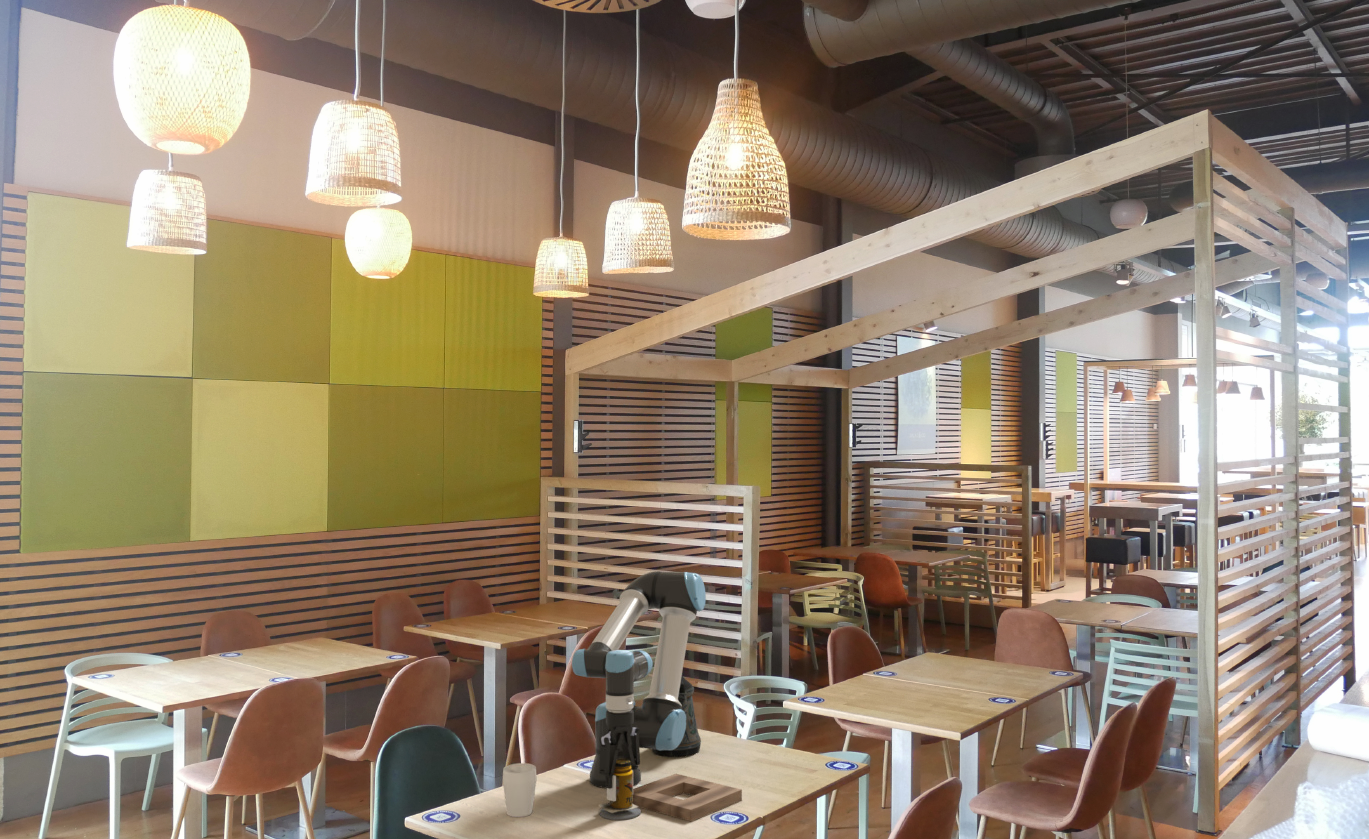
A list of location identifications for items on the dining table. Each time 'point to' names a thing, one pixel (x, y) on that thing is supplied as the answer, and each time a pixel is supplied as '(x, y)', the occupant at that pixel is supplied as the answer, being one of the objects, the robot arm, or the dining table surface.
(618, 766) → the condiment
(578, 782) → the dining table surface
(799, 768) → the dining table surface
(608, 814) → the coaster
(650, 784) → the holder board
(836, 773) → the dining table surface
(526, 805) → the cup
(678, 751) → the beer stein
